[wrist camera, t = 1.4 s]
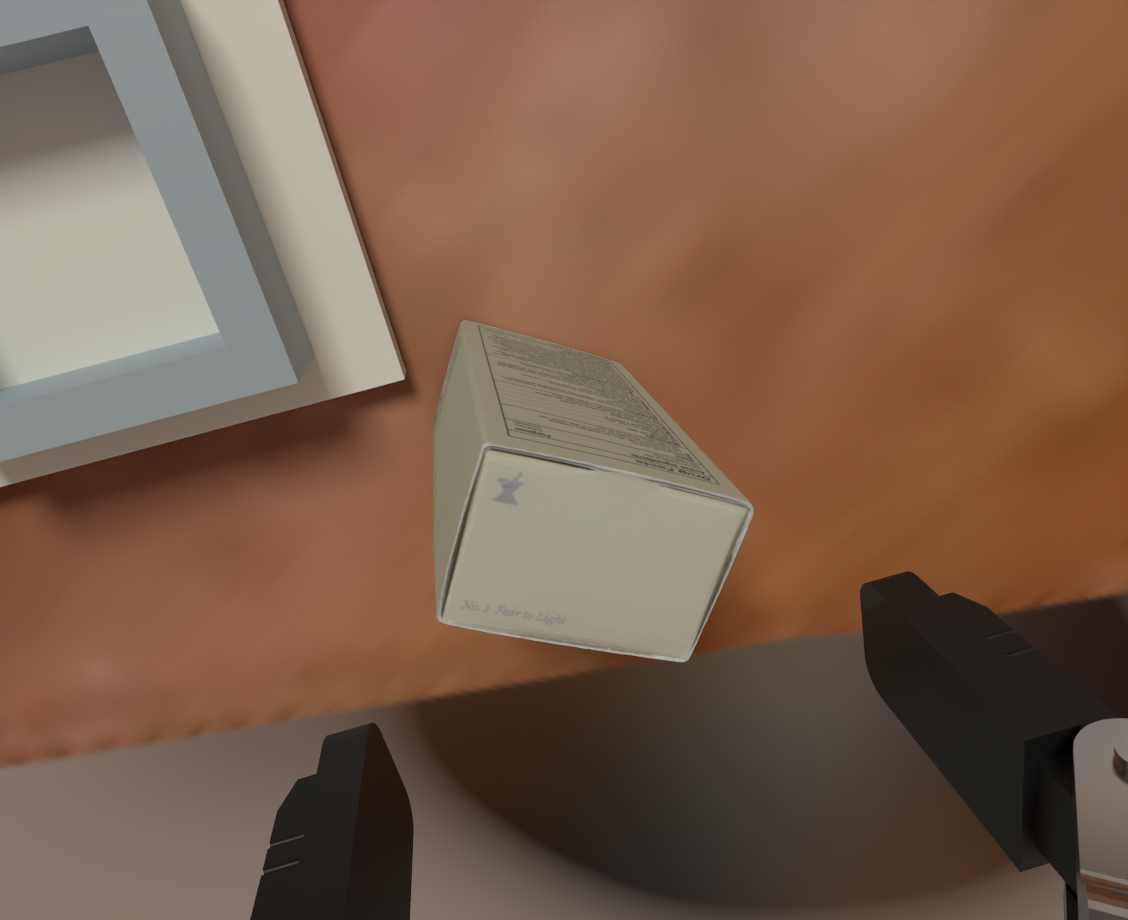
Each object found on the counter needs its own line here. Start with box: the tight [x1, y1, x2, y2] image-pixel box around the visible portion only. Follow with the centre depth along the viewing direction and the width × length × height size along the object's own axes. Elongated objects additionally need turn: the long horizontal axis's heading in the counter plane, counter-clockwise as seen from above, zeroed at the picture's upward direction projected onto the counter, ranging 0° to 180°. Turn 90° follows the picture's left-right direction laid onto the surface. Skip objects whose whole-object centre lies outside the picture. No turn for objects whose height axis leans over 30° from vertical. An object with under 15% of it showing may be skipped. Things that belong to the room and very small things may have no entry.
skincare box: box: [433, 320, 754, 662], centre depth 21 cm, size 6×4×12 cm
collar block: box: [0, 0, 406, 487], centre depth 21 cm, size 16×14×4 cm
